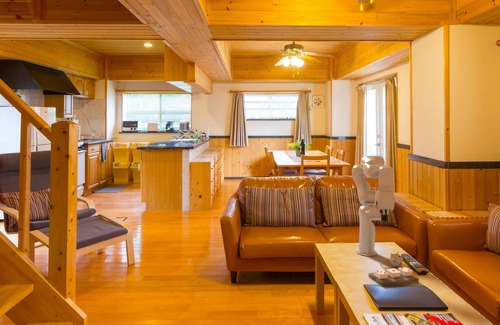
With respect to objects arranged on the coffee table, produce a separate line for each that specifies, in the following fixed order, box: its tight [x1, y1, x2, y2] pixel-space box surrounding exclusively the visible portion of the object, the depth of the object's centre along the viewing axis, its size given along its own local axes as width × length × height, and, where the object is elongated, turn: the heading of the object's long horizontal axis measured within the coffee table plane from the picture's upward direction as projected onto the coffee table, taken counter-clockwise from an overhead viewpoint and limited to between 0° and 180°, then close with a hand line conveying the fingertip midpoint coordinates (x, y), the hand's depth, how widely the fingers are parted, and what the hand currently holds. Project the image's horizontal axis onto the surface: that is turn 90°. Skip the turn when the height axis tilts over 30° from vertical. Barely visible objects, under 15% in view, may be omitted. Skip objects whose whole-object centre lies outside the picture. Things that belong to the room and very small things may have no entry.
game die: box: [388, 252, 405, 269], centre depth 198 cm, size 9×8×10 cm
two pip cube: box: [397, 266, 414, 276], centre depth 182 cm, size 5×5×3 cm
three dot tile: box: [373, 269, 388, 279], centre depth 178 cm, size 5×5×3 cm
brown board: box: [368, 272, 420, 288], centre depth 180 cm, size 12×22×2 cm, turn 104°
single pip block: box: [385, 267, 401, 278], centre depth 180 cm, size 5×5×3 cm
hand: (384, 221), depth 189 cm, fingers closed
